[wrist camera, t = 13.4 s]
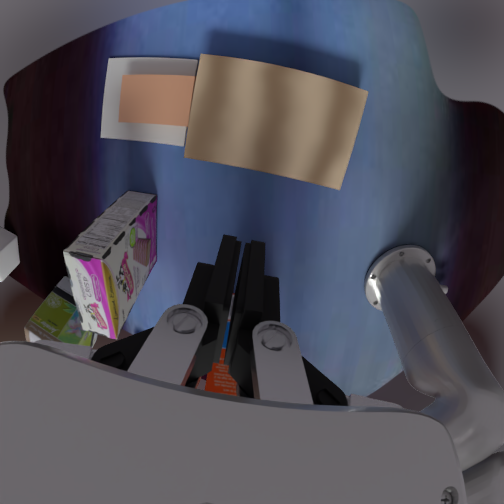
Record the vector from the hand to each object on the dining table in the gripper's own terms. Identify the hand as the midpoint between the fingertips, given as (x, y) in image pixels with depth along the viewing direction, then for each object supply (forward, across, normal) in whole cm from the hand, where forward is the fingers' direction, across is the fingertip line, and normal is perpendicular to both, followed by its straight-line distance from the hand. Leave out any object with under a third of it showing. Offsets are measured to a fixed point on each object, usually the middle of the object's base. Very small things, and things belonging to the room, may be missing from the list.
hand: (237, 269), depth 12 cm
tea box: (+25, +29, +36) cm, 53 cm away
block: (+25, +13, -4) cm, 28 cm away
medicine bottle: (+25, +47, +24) cm, 59 cm away
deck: (+25, -1, -4) cm, 25 cm away
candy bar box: (+25, +14, +14) cm, 32 cm away
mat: (+25, +15, -4) cm, 30 cm away
